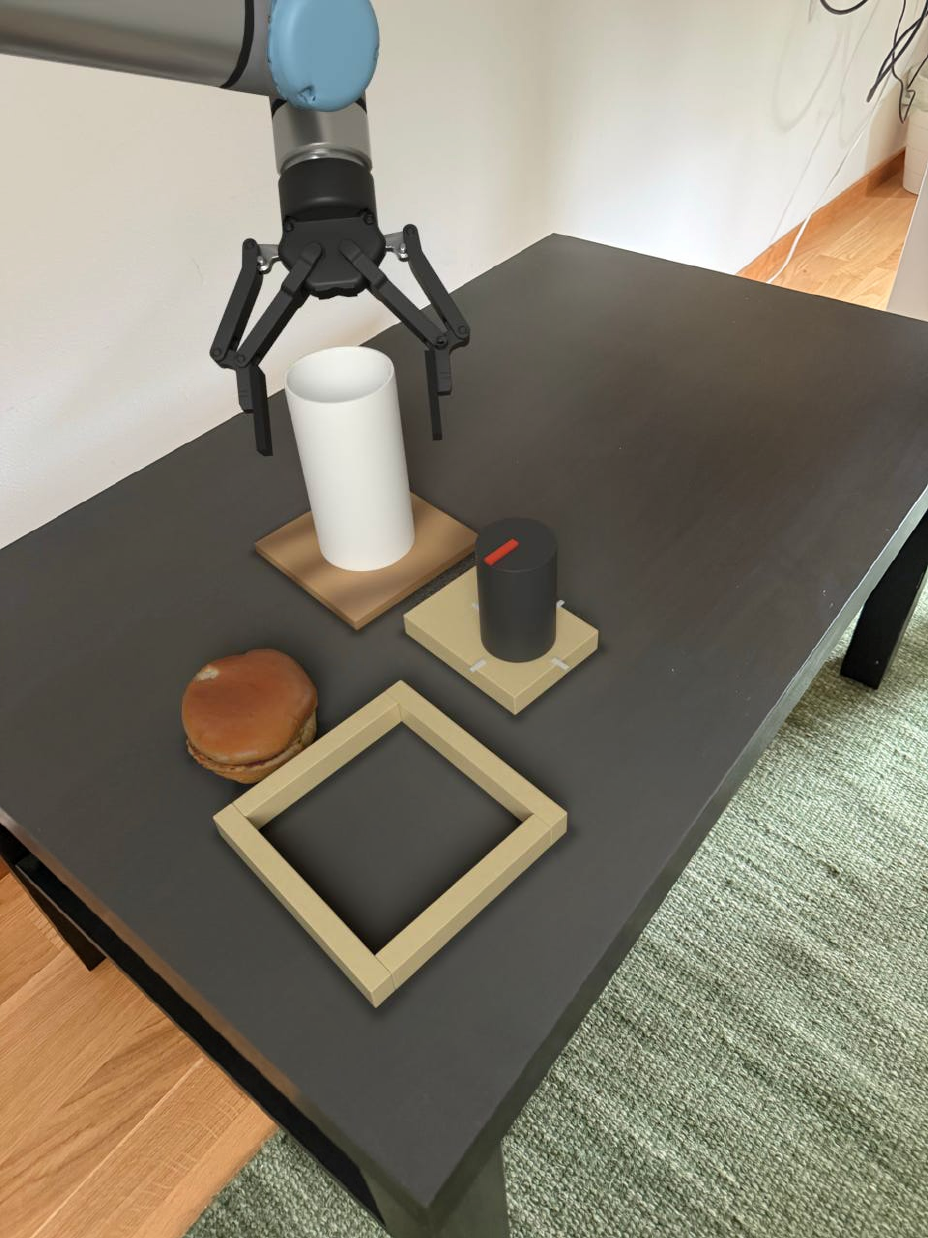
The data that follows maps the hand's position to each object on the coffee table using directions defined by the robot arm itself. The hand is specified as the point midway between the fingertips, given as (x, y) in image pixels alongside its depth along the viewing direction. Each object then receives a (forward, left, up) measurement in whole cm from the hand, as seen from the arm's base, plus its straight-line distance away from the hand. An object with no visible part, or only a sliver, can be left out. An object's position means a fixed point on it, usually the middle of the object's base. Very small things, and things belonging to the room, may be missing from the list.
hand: (351, 445), depth 73 cm
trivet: (0, 0, -11) cm, 11 cm away
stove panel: (+16, 0, -11) cm, 19 cm away
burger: (+10, -19, -11) cm, 23 cm away
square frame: (+23, -17, -11) cm, 31 cm away
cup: (0, 0, -10) cm, 10 cm away
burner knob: (+18, 0, -9) cm, 20 cm away
